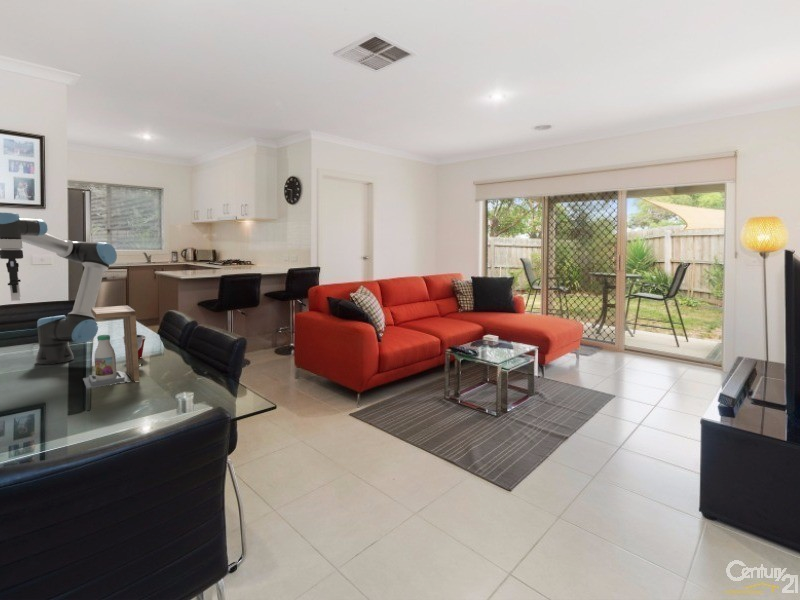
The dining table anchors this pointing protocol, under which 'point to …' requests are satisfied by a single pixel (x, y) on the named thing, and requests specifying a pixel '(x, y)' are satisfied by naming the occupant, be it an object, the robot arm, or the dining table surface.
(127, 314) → the overhang shelf
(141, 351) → the plastic cup
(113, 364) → the milk bottle
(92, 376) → the grey square tray
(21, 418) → the dining table surface
